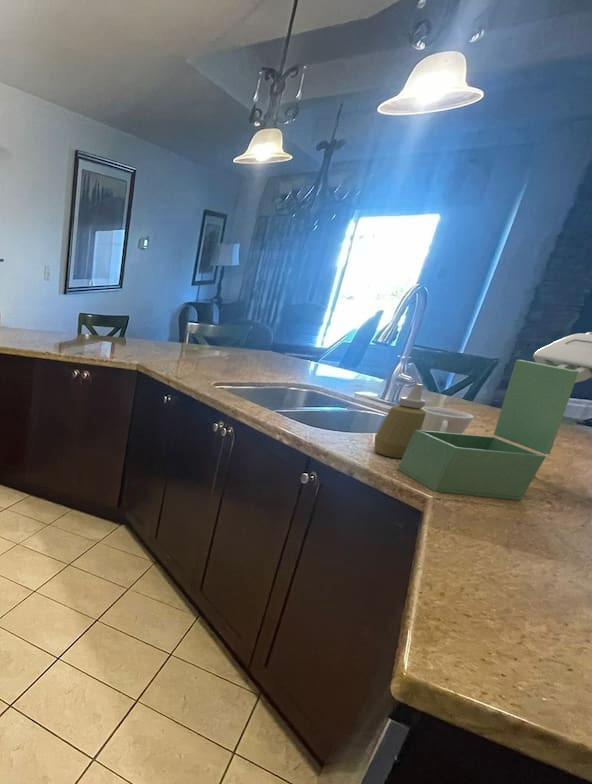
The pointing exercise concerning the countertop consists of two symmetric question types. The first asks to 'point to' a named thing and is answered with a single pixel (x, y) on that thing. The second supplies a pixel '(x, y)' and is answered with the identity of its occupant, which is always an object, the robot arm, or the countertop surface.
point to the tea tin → (470, 464)
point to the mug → (445, 420)
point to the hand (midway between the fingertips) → (548, 384)
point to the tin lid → (535, 404)
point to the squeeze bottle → (401, 424)
